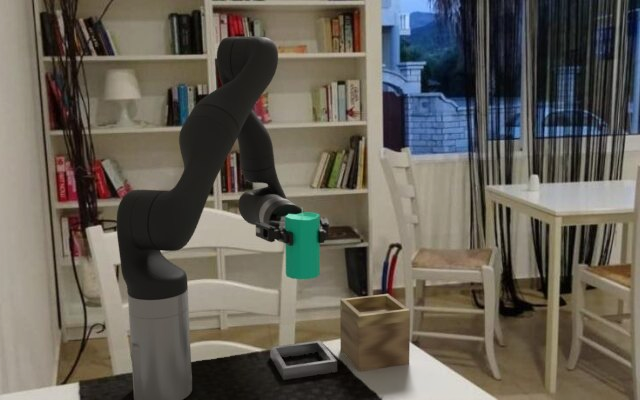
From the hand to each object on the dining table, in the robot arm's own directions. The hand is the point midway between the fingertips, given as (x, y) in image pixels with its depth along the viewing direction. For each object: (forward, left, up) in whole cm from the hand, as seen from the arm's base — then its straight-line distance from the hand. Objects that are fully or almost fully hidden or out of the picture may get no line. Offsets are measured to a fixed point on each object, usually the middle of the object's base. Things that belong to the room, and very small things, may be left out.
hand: (307, 238), depth 106 cm
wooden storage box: (+13, +2, -24) cm, 27 cm away
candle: (0, +3, -7) cm, 8 cm away
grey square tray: (0, +3, -24) cm, 24 cm away
